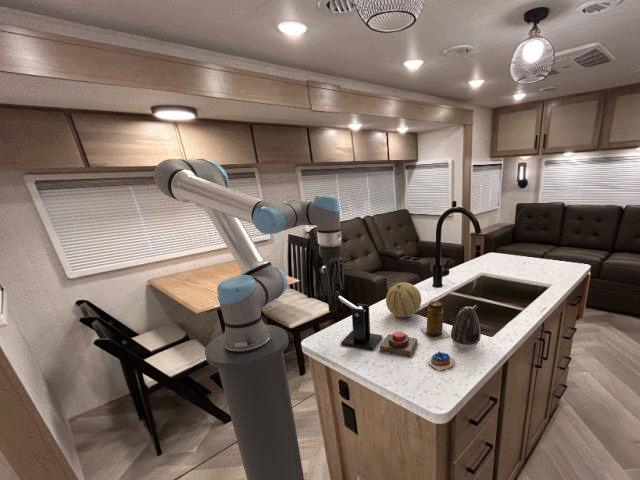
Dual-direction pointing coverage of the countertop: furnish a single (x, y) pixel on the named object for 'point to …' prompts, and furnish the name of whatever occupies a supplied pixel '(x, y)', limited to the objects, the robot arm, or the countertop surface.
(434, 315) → the condiment
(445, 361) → the dessert
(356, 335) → the bracket
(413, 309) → the cantaloupe
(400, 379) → the countertop surface
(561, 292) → the countertop surface
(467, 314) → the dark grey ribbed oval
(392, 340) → the button block
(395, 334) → the button
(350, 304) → the lever
